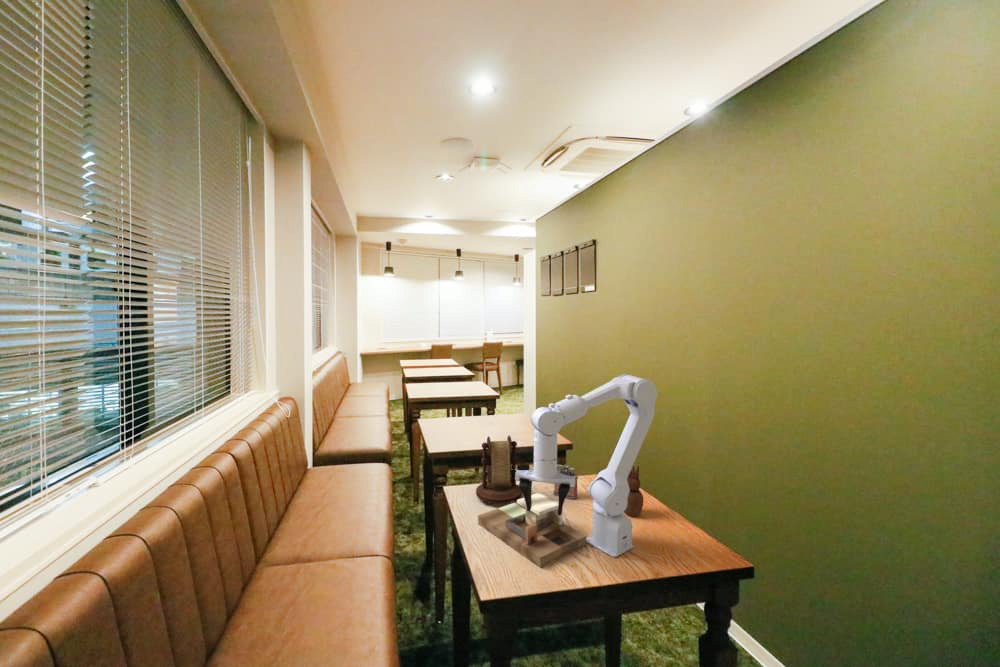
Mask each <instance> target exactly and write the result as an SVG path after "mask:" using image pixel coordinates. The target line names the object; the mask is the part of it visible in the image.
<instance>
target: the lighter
mask: <svg viewBox="0 0 1000 667" xmlns="http://www.w3.org/2000/svg"><path fill="white" fill-rule="evenodd" d="M557 473H560V474H564V475H568V476H574V477H575V486H574V487H570V489H569V492H568V494H567V496H566V498H565V500H570V501H571V500H572V501H577V500H578V498H579V497H578V478H579V475H578V474H576V473H575V468H574V467H570V465H562V464H558V463H557ZM553 485H554V486H553V487H554V489H553V490H554V491H553V495H554V496H555V497H558V498H559V494H558V489H559V486H560V484H553Z"/></svg>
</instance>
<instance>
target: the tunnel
mask: <svg viewBox="0 0 1000 667" xmlns="http://www.w3.org/2000/svg"><path fill="white" fill-rule="evenodd" d="M531 499H532V505H531V509H530V511H532V512H534V513H536V514H538V515H542V514H545V513H547V518H551V524H550V525H548V526H545V527H543V528H540V529H538V530H537V541H535V542H532V543H530V544H527V543H525V539H524V538H522V537H521V536H519V535H518V534H516V533H515V532H513V531H512V530H510V529H509V528H507V527H506V526H505V521H506V520H509V519H511V518H514V517H517V516H519V515H522V514H525V513H526V508H527V506H526V502H525V499H524V497H522V498H521V497H520V498H519V499H518V500H517V502H515V501H514V502H511V503H510V504H509V503H508V504H506V505H504V506H500V507H498V508H496V509H492V510H490V511H486V512H484V513H481V514H478V515H477V525H479V526H480V527H482V528H484V529H485V530H486V531H487V532H489V533H490V534H491V535H493V536H494V537H496V538H497V539H499V540H500V541H501V542H503V543H504V544H505V545H507V546H509V547H510V548H511V549H513V550H514V551H516V552H517V553H518V554H520V555H521V556H522V557H524V558H525V559H527V560H528V561H529V562H531V563H533V564H534V565H536V567H538V568H539V569H541V568H543V567H545V566H547V565H549V564H551V563H553V562H555V561H557V560H559V559H561V558H563V557H565V556H567V555H570V554H572V553H573V552H576V551H577V550H579V549H582V548H584V547H586V546H587V542H586V539H587V535H586V534H584V533H582V532H580V531H578V530H576V529H575V528H573V527H571V526H569V525H568V524H565V523H564V522H563V512H564V511H563V508H564V506H563V507H562V513H561V515H558V506H559V500H557V499H554V498H552V497H550V496H549V495H546V494H544V493H542V492H540V491H539V492H536V493H533V494H531ZM516 525H518V526H519V527H521V528H524V527H526V526H529V524H527V523H525V521H523V522H520V523H518V524H516Z"/></svg>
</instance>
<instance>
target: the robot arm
mask: <svg viewBox="0 0 1000 667" xmlns="http://www.w3.org/2000/svg"><path fill="white" fill-rule="evenodd" d="M658 395H659V393H658V390H657V388H656V386H655V384H654V382H652V380H650V379H648V378H642V377H638V376H635V375H632V374H629V373H623V374H622V375H619V376H616V377H613V378H612V379H611V380H610V381H607V382H606V383H604V384H603V385H601V386H599V387H597V388H595V389H593V390H591V391H589V392H587V393H585V394H584V395H581V396H579V395H577V394H567V395H565V398H564V399H562V400H559V401H557V402H555V403H552V402H551V403H548V407H546V406H541V407H538V408H536V409H535V411H534V412H533V413H532V416H531V417H530V422H531V423H530V424H532V427H534V431H533V432H534V433H533V435H534V436H533V470H527V469H526V470H523V469H522V470H519V469H517V470H516V475H515V476H516V477H515V480H516V481H519V483H518V485H519V488H520V490H521V491H522V496H523V498H524V499H525V502H526V506H527V511H530V509H531V505H532V499H531V495H532V487H533V482H537V483H544V484H552V485H554V484H560V486H559V489H558V494H559V497H558V502H559V506H558V515H561V513H562V514H563V512H562V507H563V508H564V503H565V501H566V499H565V498H566V496H567V494H568V492H569V489H570V487H574V486H575V477H574V476H568V475H564V474H560V473H557V470H558V469H557V464H558V433H559V432H561V429H562V427H563V426H566V425H569V424H570V423H573V422H574V421H576V420H578V419H580V418H583V417H584V416H586V413H587V411H588V409H591V408H593V407H597V406H599V405H601V404H603V403H606V402H609V401H610V400H613V399H620V400H622V401H623V402H625V404H626V406H627V409H628V411H629V412H630V414H629V417H628V420H627V421H626V423H625V426H624V428H623V430H622V432H621V435H620V437H619V439H618V442H617V445H616V447H615V449H614V451H613V454H612V456H611V458H610V459H609V462H608V465H607V467H606V468H605V469H602V470H601V471H599V472H598V474H597V476H596V478H594V479H593V480H592V482H591V483H590V484H589V486H588V493H589V496H590V498H591V499H592V535H591V536H588V537H586V544H587V543H588V544H590V545H591V546H593V548H596V549H598V550H600V551H602V552H603V553H605V554H607V555H609V556H610V557H612V558H616V557H618V556H620V555H622V554H624V553H625V552H627V551H629V550H631V549H633V548H634V545H633V543H632V540H633V537H632V536H633V523H632V521H631V519H630V518H629V517H628V516H626V514H625V513H624V511H625V509H626V507H627V503H628V502H627V498H628V494H629V492H630V489H629V485H628V482H627V478H628V475H629V473H630V471H632V468H633V466H634V464H635V461H636V459H637V456H638V455H639V452H640V449H641V448H642V446H643V442H644V441H645V438H646V437H647V434H648V431H649V428H650V426H651V424H652V422H653V420H654V418H655V404H656V400H657V398H658Z"/></svg>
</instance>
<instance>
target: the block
mask: <svg viewBox="0 0 1000 667" xmlns="http://www.w3.org/2000/svg"><path fill="white" fill-rule="evenodd" d="M544 519H547V513H545V514H542V515H538V514H536V513H534V512H532V511H527V508H526V520H525V523H527V524H529V525H531V524H534V523H537V522H539V521H542V520H544Z"/></svg>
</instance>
